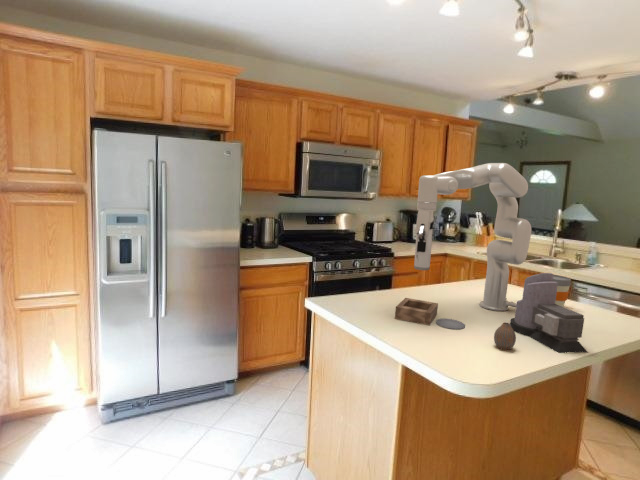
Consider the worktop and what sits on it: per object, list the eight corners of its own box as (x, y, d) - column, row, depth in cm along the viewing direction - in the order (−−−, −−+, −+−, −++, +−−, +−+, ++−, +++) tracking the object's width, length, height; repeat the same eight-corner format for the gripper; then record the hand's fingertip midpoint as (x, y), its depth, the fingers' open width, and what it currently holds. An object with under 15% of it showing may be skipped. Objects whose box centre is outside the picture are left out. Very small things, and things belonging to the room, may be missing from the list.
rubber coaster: (466, 323, 166) (466, 321, 166) (463, 331, 157) (463, 330, 156) (438, 318, 171) (438, 316, 171) (433, 325, 161) (433, 324, 161)
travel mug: (428, 267, 172) (431, 219, 169) (430, 270, 165) (434, 221, 163) (412, 266, 172) (416, 219, 170) (414, 269, 166) (418, 220, 163)
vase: (489, 343, 146) (492, 319, 145) (507, 344, 147) (510, 320, 145) (499, 351, 139) (502, 326, 138) (518, 352, 140) (521, 327, 138)
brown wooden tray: (436, 314, 176) (438, 303, 175) (429, 325, 161) (430, 313, 161) (404, 308, 182) (405, 297, 181) (394, 318, 167) (395, 306, 167)
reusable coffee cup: (571, 309, 195) (576, 278, 193) (559, 313, 188) (564, 281, 186) (544, 302, 205) (548, 273, 203) (532, 306, 198) (536, 275, 196)
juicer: (498, 323, 169) (506, 265, 166) (532, 322, 173) (540, 265, 169) (553, 353, 140) (563, 283, 137) (592, 352, 144) (603, 284, 140)
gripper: (421, 205, 174) (418, 246, 177) (412, 206, 159) (408, 252, 162) (440, 206, 171) (436, 248, 174) (432, 208, 156) (428, 254, 158)
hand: (423, 250), depth 168 cm, fingers closed on travel mug, 6 cm apart
